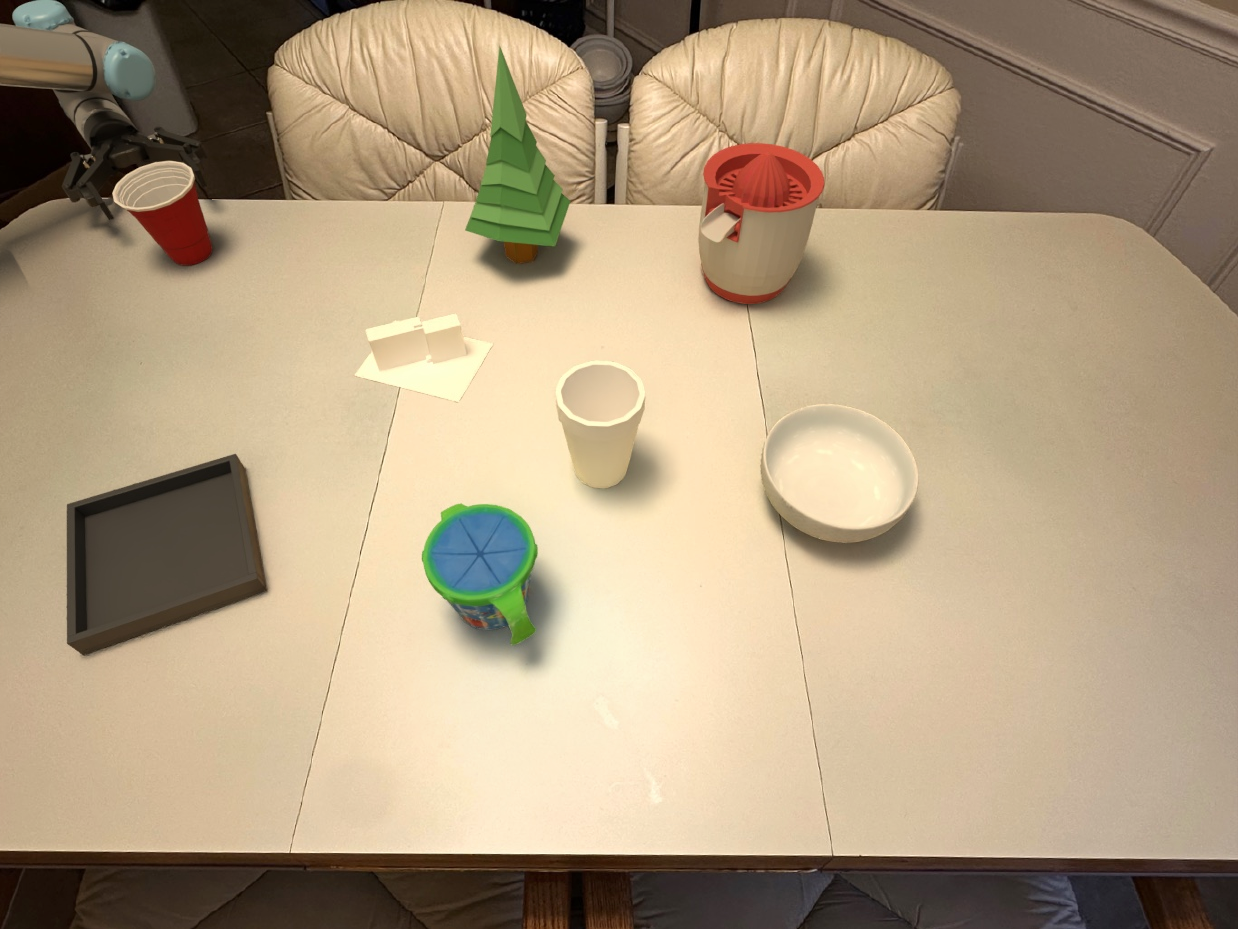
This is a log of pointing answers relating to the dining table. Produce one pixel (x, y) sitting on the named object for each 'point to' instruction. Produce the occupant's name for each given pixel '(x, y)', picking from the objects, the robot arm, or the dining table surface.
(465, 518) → the snack cup
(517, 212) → the decorative tree
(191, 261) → the plastic cup
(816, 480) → the cereal bowl
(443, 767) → the dining table surface
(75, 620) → the tray
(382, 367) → the napkin holder
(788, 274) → the citrus juicer
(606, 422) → the foam cup
